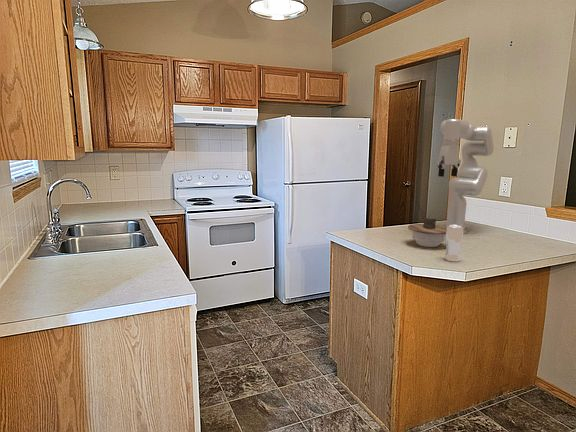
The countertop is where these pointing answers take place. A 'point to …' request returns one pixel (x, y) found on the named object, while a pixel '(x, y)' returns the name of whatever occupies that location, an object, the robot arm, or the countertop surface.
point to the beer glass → (453, 242)
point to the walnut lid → (428, 227)
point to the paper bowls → (428, 239)
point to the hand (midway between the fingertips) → (447, 176)
